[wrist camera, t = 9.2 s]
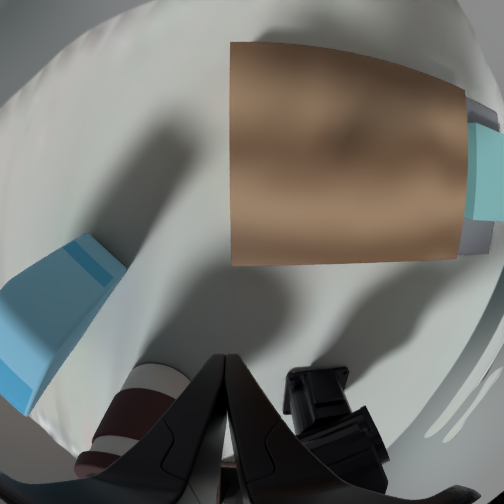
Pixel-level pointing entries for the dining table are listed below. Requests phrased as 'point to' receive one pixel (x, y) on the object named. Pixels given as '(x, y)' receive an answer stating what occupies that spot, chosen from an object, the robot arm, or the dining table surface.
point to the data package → (50, 315)
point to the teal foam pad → (485, 174)
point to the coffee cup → (131, 415)
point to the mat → (473, 231)
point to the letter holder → (228, 485)
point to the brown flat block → (342, 158)
